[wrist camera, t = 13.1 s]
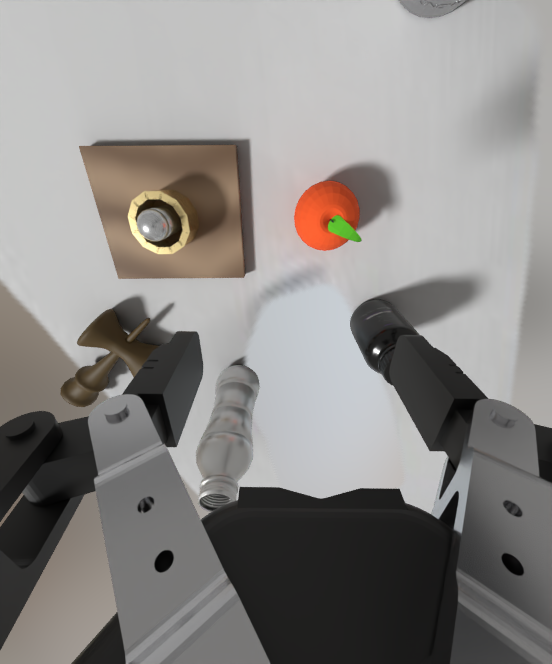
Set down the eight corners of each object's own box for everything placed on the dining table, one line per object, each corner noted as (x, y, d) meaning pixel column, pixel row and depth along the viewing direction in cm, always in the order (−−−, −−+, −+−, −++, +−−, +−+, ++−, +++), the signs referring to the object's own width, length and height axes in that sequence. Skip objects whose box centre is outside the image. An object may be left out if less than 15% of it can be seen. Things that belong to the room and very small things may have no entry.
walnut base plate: (87, 147, 29) (78, 146, 28) (237, 146, 29) (235, 144, 28) (124, 275, 36) (118, 278, 35) (245, 273, 36) (244, 277, 35)
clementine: (369, 207, 32) (392, 213, 26) (334, 258, 35) (347, 274, 29) (313, 167, 30) (323, 164, 24) (281, 224, 33) (283, 235, 27)
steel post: (154, 204, 30) (127, 210, 25) (181, 204, 30) (160, 210, 25) (160, 232, 32) (135, 244, 26) (185, 232, 32) (166, 244, 26)
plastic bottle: (260, 391, 46) (251, 520, 28) (220, 390, 46) (187, 520, 28) (260, 359, 43) (250, 484, 25) (217, 359, 43) (177, 483, 25)
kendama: (60, 364, 44) (127, 284, 37) (115, 396, 47) (185, 329, 40) (32, 390, 39) (103, 304, 31) (95, 424, 42) (172, 353, 35)
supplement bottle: (371, 288, 37) (409, 331, 27) (406, 313, 39) (454, 362, 28) (338, 325, 40) (361, 377, 29) (372, 347, 42) (406, 403, 31)
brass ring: (139, 190, 30) (121, 191, 26) (193, 189, 30) (183, 190, 26) (152, 246, 33) (137, 254, 29) (201, 245, 33) (193, 253, 29)
